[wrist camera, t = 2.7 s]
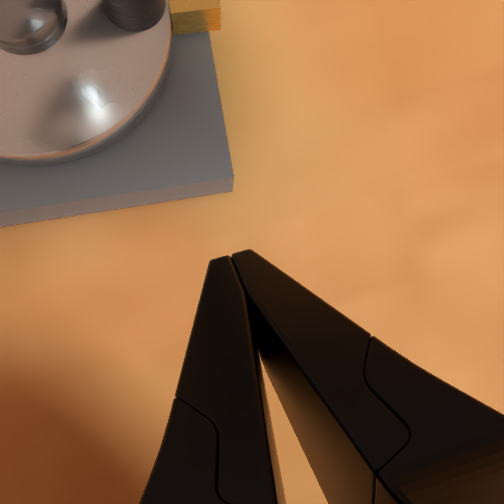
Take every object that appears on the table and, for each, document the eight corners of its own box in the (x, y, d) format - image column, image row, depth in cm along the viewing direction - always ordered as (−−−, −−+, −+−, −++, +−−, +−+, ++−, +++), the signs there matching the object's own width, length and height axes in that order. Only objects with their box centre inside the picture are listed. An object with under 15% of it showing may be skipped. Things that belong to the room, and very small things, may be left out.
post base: (232, 191, 22) (237, 144, 16) (-76, 238, 21) (-209, 209, 14) (185, -77, 23) (172, -223, 17) (-106, -48, 22) (-240, -192, 16)
